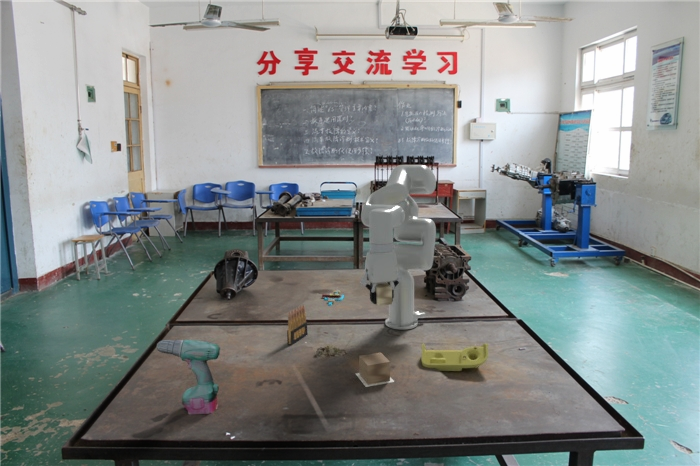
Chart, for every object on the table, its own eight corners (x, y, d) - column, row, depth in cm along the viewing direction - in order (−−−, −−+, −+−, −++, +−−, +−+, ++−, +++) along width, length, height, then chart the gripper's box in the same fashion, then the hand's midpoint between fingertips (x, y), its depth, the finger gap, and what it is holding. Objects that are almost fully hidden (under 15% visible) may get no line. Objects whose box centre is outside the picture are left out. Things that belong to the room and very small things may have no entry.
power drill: (166, 403, 146) (159, 335, 142) (225, 400, 147) (220, 332, 143) (159, 417, 139) (152, 346, 135) (221, 413, 140) (216, 343, 136)
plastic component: (420, 364, 162) (422, 339, 170) (423, 380, 166) (424, 355, 174) (489, 365, 157) (487, 339, 165) (489, 381, 162) (488, 355, 170)
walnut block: (381, 370, 161) (380, 352, 160) (390, 380, 154) (390, 361, 153) (359, 374, 159) (359, 355, 158) (367, 384, 152) (367, 365, 151)
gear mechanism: (317, 306, 227) (338, 306, 225) (317, 294, 226) (338, 294, 224) (327, 292, 246) (346, 292, 245) (327, 281, 245) (346, 281, 244)
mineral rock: (311, 354, 171) (318, 339, 178) (312, 365, 173) (319, 349, 180) (343, 358, 169) (349, 342, 176) (344, 368, 171) (349, 352, 178)
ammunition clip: (291, 345, 184) (290, 312, 182) (287, 344, 185) (285, 312, 183) (307, 334, 194) (306, 303, 191) (303, 334, 195) (302, 303, 192)
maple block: (386, 299, 174) (385, 282, 173) (392, 304, 170) (391, 286, 168) (372, 301, 173) (371, 283, 171) (377, 306, 168) (377, 288, 167)
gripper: (400, 242, 174) (401, 295, 177) (352, 247, 168) (353, 301, 172) (410, 247, 167) (410, 301, 170) (360, 252, 161) (361, 308, 165)
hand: (381, 301), depth 171 cm, fingers closed on maple block, 5 cm apart
